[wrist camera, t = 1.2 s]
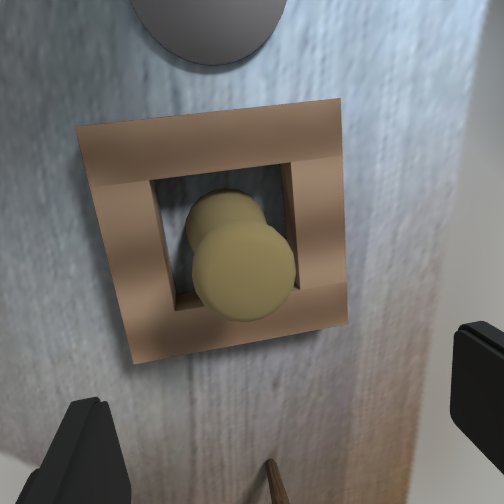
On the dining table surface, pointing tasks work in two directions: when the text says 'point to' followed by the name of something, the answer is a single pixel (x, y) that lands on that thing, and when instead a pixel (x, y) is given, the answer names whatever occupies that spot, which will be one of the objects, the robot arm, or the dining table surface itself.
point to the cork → (238, 257)
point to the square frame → (205, 161)
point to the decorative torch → (276, 484)
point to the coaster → (210, 26)
